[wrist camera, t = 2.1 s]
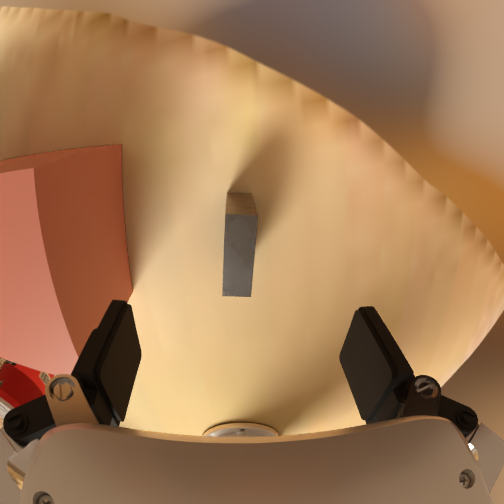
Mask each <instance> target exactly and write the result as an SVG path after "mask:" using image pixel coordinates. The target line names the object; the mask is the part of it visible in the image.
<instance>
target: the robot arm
mask: <svg viewBox="0 0 504 504" xmlns="http://www.w3.org/2000/svg"><path fill="white" fill-rule="evenodd" d="M140 360H141V348H140V344H139V339H138V335H137V331H136V326H135V321H134V317H133V312H132V307H131V305H130V304H127V301H125V300H112V301H111V303H110V305H109V307H108V309H107V310H106V312H105V314H104V316H103V318H102V320H101V322H100V324H99V326H98V327H97V329H96V328H95V329H93V331H92V332H91V334H90V336H89V338H88V340H87V342H86V344H85V346H84V348H83V350H82V352H81V354H80V356H79V358H78V360H77V362H76V364H75V366H74V369H73V371H72V373H71V375H68V374H59V375H56V376H54V377H52V378H51V379H50V380H49V381H48V383H47V384H46V387H45V395H43V396H40V397H38V398H36V399H34V400H32V401H29V402H27V403H25V404H23V405H20V406H18V407H16V408H13V409H11V410H10V411H8V413H7V414H6V415H5V417H4V420H3V427H2V428H1V429H0V504H492V500H491V497H490V494H489V493H490V491H491V489H492V487H493V485H494V484H495V481H496V480H497V478H498V476H499V474H500V472H501V469H502V468H503V465H504V440H503V439H502V438H501V437H499V436H498V435H497V434H496V433H494V432H493V431H492V430H490V429H489V428H488V427H487V426H485V425H484V424H483V423H482V422H481V423H480V424H478V418H477V415H476V413H475V412H474V411H473V410H472V409H471V408H469V407H467V406H465V405H463V404H460V403H458V402H456V401H454V400H451V399H449V398H447V397H445V396H442V395H441V387H440V385H439V383H438V382H437V381H436V380H435V379H434V378H432V377H430V376H427V375H419V376H416V377H415V376H414V374H413V373H414V372H413V370H412V368H411V367H410V365H409V363H408V361H407V360H406V358H405V356H404V355H403V353H402V351H401V350H400V348H399V346H398V345H397V343H396V341H395V340H394V338H393V337H392V335H391V333H390V332H389V330H388V328H387V327H386V325H385V324H384V322H383V321H382V319H381V317H380V316H379V314H378V313H377V311H376V310H375V308H374V307H372V306H367V307H360V308H359V309H358V310H356V311H355V313H354V316H353V319H352V322H351V325H350V328H349V331H348V333H347V336H346V339H345V342H344V344H343V347H342V350H341V352H340V363H341V365H342V368H343V370H344V373H345V375H346V378H347V381H348V383H349V386H350V389H351V391H352V394H353V397H354V399H355V402H356V405H357V407H358V410H359V413H360V416H361V418H362V419H363V420H365V421H366V424H367V425H361V426H356V427H350V428H344V429H338V430H331V431H324V432H316V433H307V434H297V435H285V436H279V435H278V433H277V432H276V431H275V430H274V429H272V428H270V427H268V426H265V425H261V424H256V423H229V424H223V425H219V426H216V427H213V428H211V429H209V430H207V431H206V432H205V433H204V434H203V436H190V435H178V434H168V433H159V432H151V431H143V430H136V429H129V428H123V427H119V424H120V421H122V422H123V421H124V419H125V415H126V411H127V407H128V404H129V400H130V396H131V392H132V389H133V385H134V381H135V378H136V374H137V371H138V367H139V364H140Z"/></svg>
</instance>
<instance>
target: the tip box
mask: <svg viewBox="0 0 504 504" xmlns="http://www.w3.org/2000/svg"><path fill="white" fill-rule="evenodd" d="M132 292H133V288H132V282H131V275H130V267H129V259H128V251H127V241H126V231H125V219H124V204H123V184H122V144H121V145H107V146H95V147H84V148H75V149H67V150H59V151H52V152H45V153H39V154H33V155H27V156H21V157H16V158H11V159H6V160H1V161H0V358H3V359H6V360H8V361H11V362H14V363H17V364H20V365H23V366H26V367H29V368H32V369H35V370H38V371H42V372H45V373H48V374H52V375H59V374H68V375H71V373H72V371H73V369H74V366H75V364H76V362H77V360H78V358H79V356H80V354H81V352H82V350H83V348H84V346H85V344H86V342H87V340H88V338H89V336H90V334H91V332H92V331H93V329H95V328H96V329H97V327H98V326H99V324H100V322H101V320H102V318H103V316H104V314H105V312H106V310H107V309H108V307H109V305H110V303H111V301H112V300H125V301H127V302H128V300H129V298H130V296H131V294H132Z"/></svg>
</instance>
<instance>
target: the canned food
mask: <svg viewBox="0 0 504 504" xmlns="http://www.w3.org/2000/svg"><path fill="white" fill-rule="evenodd" d="M52 377H54V375H52V374H48V373H45V372H42V371H38V370H35V369H32V368H29V367H26V366H23V365H20V364H17V363H14V362H11V361H8V360H6V361H5V362H4V364H3V365H2V367H1V369H0V417H1V418H2V419H3V420H4V417H5V415H6V414H7V413H8V411H10V410H11V409H13V408H16V407H18V406H20V405H23V404H25V403H27V402H29V401H32V400H34V399H36V398H38V397H40V396H43V395H45V387H46V384H47V383H48V381H49V380H50V379H51V378H52Z"/></svg>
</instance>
